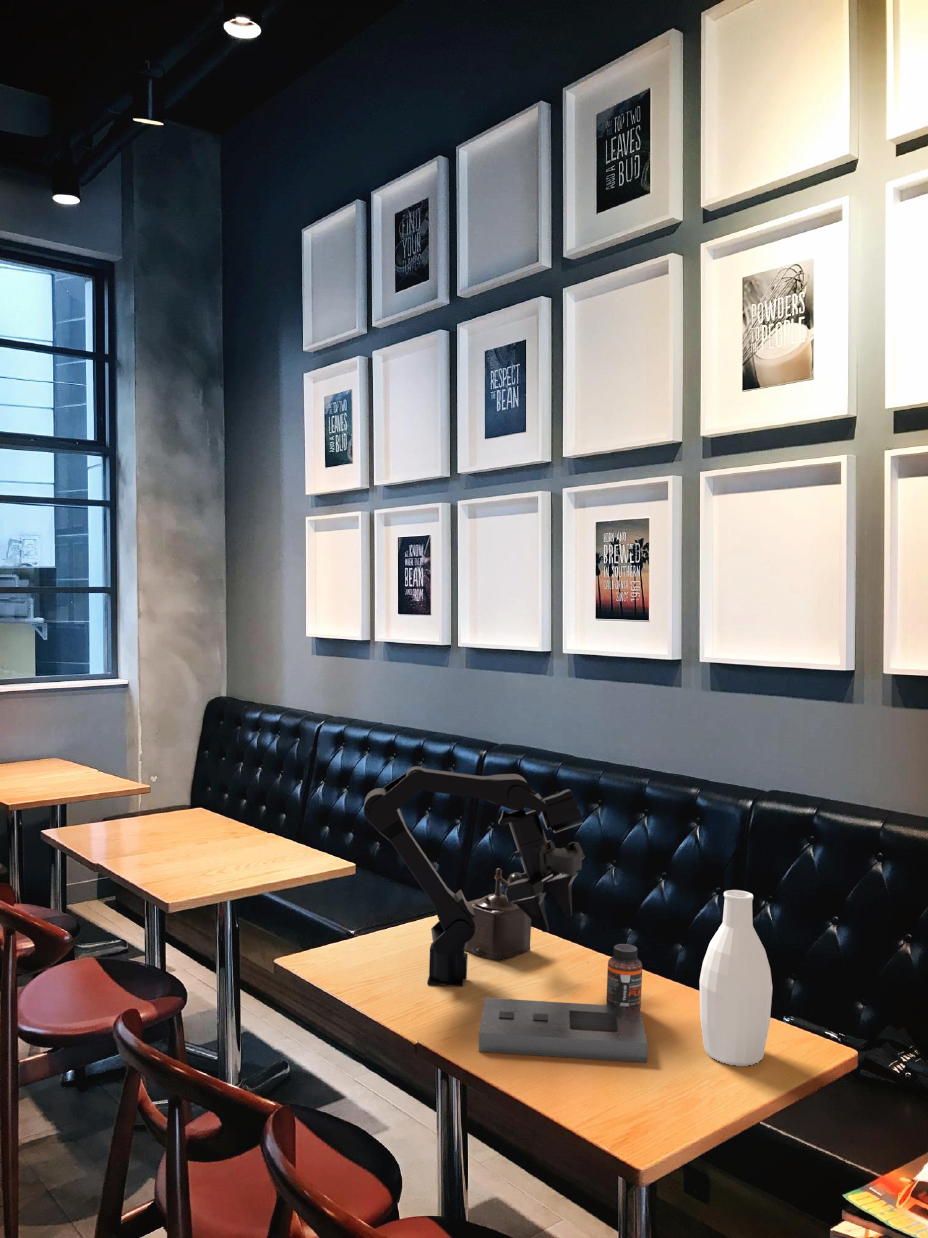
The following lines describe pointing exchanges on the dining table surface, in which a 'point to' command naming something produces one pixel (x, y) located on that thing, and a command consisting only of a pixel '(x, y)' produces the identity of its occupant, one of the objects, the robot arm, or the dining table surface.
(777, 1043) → the dining table surface
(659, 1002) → the dining table surface
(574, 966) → the dining table surface
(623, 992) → the supplement bottle
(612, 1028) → the grey fixture plate
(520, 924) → the brown coffee grinder
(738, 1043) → the bottle
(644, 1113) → the dining table surface
